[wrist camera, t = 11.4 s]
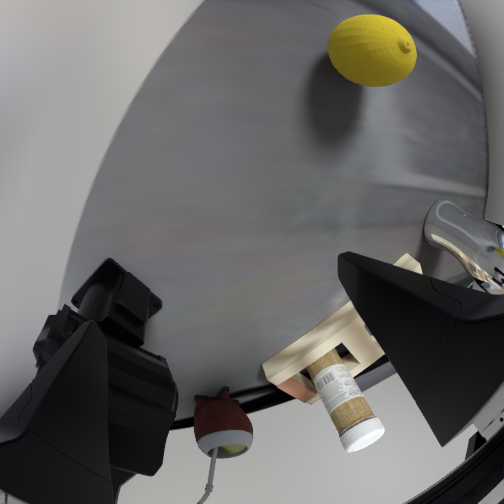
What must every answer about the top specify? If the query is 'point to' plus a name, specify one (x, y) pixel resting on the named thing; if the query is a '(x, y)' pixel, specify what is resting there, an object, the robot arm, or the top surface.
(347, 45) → the lemon
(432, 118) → the top surface
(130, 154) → the top surface
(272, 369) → the beige wooden flat tray
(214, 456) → the mate gourd
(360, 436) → the sprinkles bottle
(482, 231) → the beer glass
